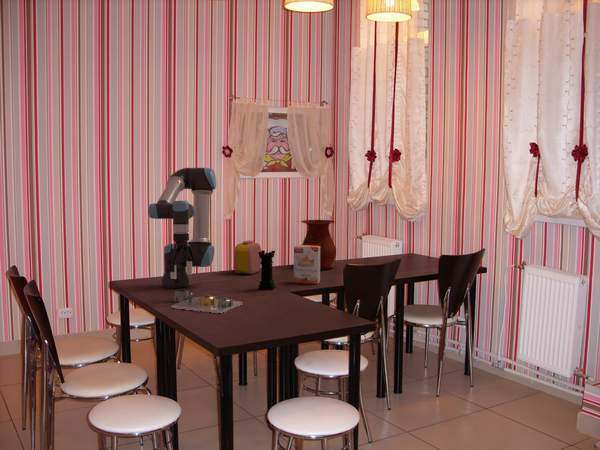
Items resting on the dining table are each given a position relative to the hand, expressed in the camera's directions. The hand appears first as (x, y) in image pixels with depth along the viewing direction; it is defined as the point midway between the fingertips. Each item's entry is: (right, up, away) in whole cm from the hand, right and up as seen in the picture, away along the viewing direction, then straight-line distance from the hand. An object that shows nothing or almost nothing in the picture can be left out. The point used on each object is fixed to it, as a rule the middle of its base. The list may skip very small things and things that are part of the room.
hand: (181, 276), depth 316 cm
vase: (+69, -3, +99) cm, 120 cm away
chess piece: (+40, -9, +32) cm, 52 cm away
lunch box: (+26, -4, +80) cm, 85 cm away
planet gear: (0, -12, +2) cm, 12 cm away
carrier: (+14, -13, -11) cm, 22 cm away
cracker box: (+61, -8, +49) cm, 79 cm away
